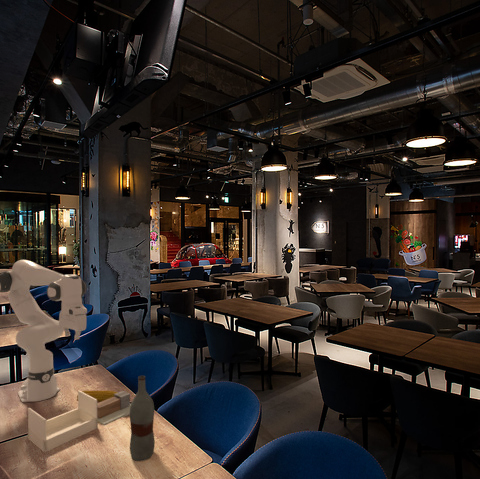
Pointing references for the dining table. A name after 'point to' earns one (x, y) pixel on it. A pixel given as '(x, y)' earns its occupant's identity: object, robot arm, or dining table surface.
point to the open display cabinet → (63, 424)
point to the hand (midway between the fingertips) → (72, 337)
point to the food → (100, 395)
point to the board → (115, 415)
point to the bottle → (142, 424)
